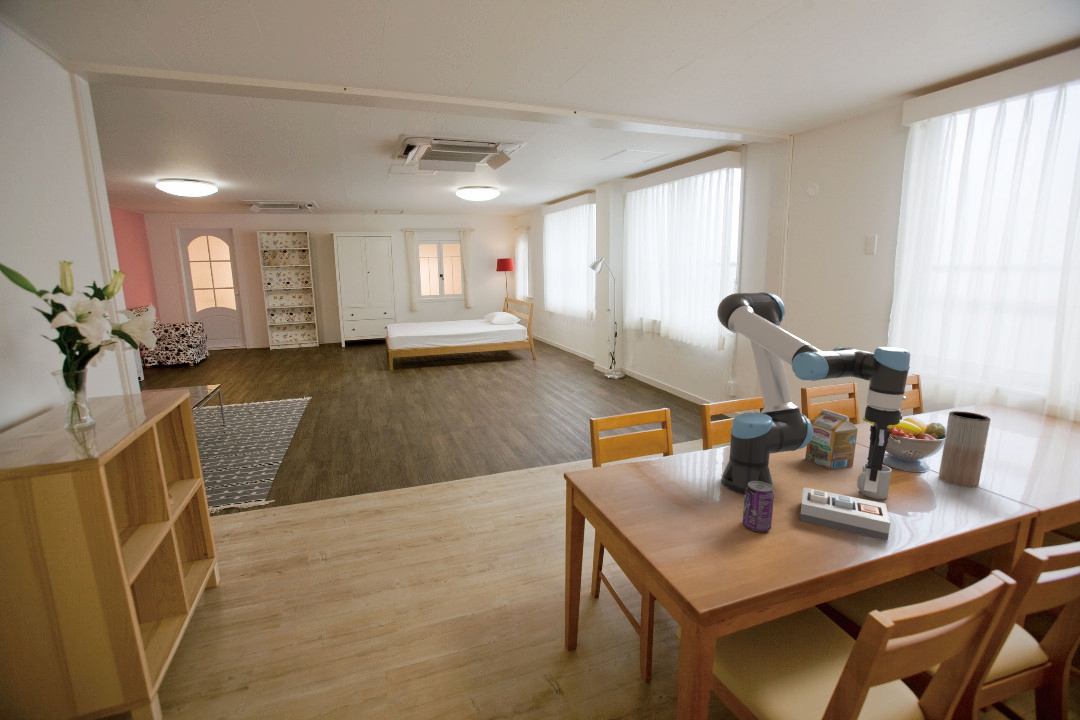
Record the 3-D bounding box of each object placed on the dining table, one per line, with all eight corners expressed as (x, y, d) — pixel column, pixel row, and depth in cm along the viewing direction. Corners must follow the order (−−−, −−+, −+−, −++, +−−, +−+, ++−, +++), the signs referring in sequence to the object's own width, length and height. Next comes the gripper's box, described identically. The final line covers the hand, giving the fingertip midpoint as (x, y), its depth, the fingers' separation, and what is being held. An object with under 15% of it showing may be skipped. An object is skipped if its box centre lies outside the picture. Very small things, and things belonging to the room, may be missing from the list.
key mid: (834, 509, 130) (835, 499, 130) (834, 503, 134) (835, 493, 133) (851, 513, 128) (853, 502, 128) (851, 507, 132) (852, 497, 131)
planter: (949, 485, 153) (960, 418, 149) (932, 473, 163) (942, 409, 158) (986, 489, 151) (998, 421, 147) (966, 476, 160) (977, 411, 156)
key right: (860, 520, 128) (861, 509, 127) (859, 514, 131) (860, 503, 130) (877, 524, 126) (879, 513, 125) (876, 517, 129) (878, 507, 128)
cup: (893, 498, 145) (897, 471, 143) (866, 501, 143) (870, 473, 141) (872, 487, 152) (876, 461, 150) (846, 490, 150) (850, 464, 148)
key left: (809, 504, 133) (811, 494, 133) (810, 498, 137) (811, 488, 136) (826, 508, 131) (827, 497, 131) (826, 502, 135) (827, 491, 134)
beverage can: (746, 517, 133) (750, 477, 131) (773, 525, 129) (777, 485, 127) (738, 527, 128) (742, 486, 126) (766, 536, 123) (770, 494, 121)
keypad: (799, 520, 132) (801, 503, 131) (801, 502, 142) (803, 487, 141) (887, 540, 122) (890, 523, 121) (883, 520, 132) (885, 503, 131)
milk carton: (805, 458, 175) (810, 409, 172) (827, 455, 179) (832, 407, 175) (830, 469, 166) (836, 418, 162) (852, 466, 169) (859, 415, 165)
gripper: (905, 416, 115) (889, 504, 120) (898, 402, 126) (884, 484, 131) (868, 411, 119) (854, 496, 124) (864, 398, 130) (852, 477, 135)
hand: (870, 490), depth 127 cm, fingers closed
